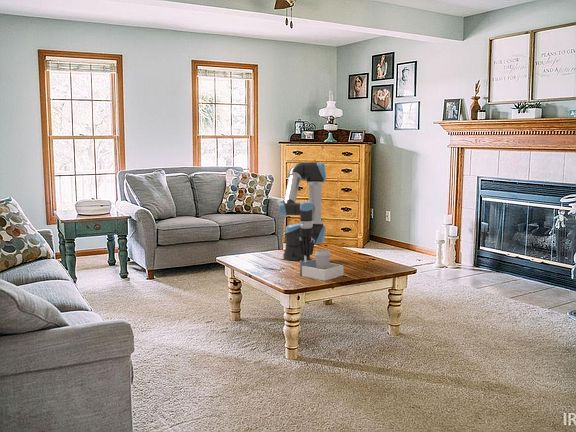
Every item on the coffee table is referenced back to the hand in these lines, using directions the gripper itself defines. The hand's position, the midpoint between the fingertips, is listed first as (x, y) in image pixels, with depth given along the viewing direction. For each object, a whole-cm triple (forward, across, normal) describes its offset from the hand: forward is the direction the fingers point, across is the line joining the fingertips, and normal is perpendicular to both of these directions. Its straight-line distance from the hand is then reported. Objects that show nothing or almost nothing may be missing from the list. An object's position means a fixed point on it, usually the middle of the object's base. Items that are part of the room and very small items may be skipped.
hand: (306, 265), depth 345 cm
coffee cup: (+4, +14, -1) cm, 14 cm away
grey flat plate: (+3, +4, -1) cm, 5 cm away
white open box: (+4, +14, -1) cm, 14 cm away
